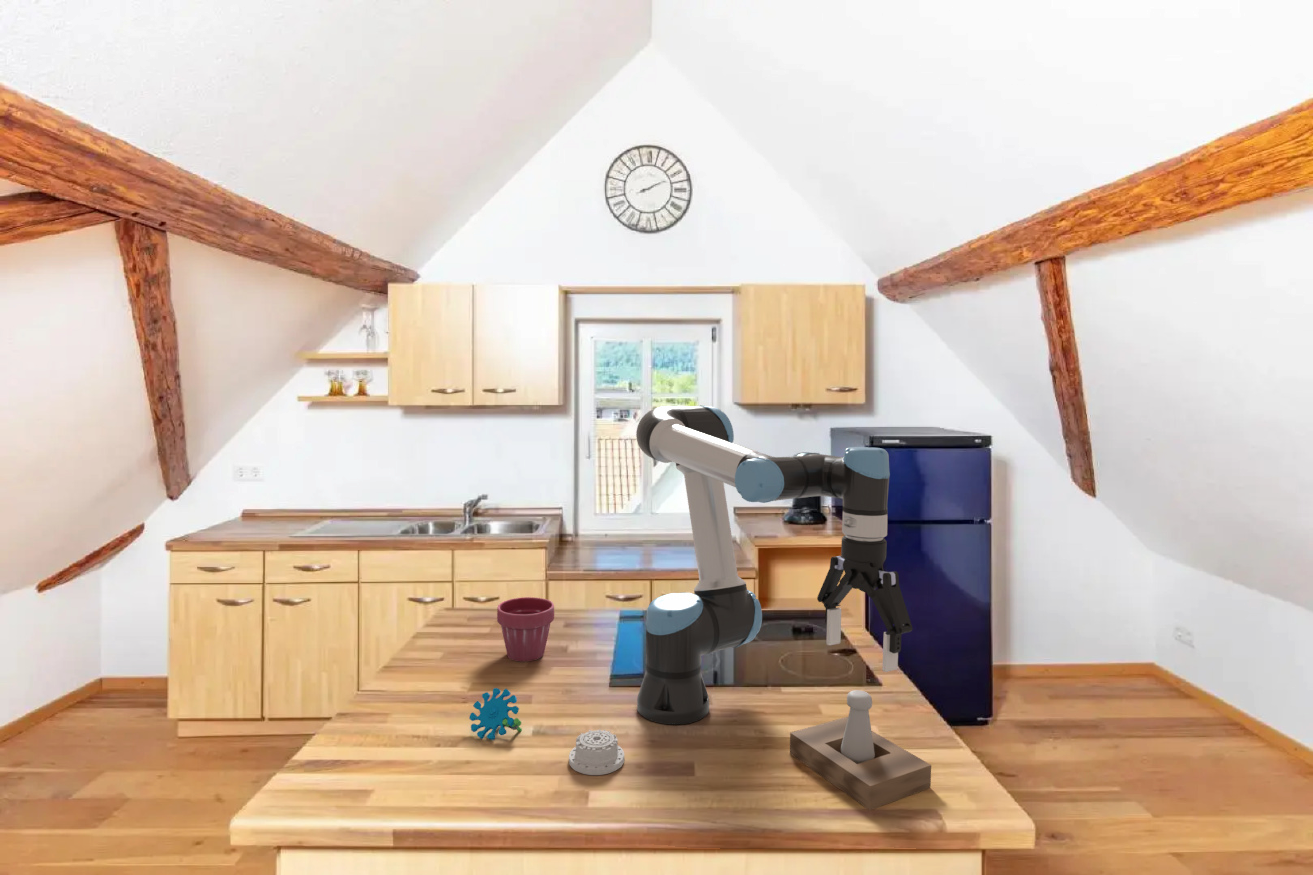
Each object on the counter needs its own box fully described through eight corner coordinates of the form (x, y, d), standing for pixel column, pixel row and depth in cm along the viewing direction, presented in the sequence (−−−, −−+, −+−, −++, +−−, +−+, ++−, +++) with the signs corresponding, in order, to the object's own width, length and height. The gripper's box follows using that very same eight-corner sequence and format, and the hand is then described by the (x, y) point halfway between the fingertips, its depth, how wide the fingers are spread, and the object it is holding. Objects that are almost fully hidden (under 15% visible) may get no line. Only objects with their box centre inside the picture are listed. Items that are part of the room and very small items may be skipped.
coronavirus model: (457, 725, 137) (487, 679, 142) (471, 736, 141) (499, 691, 147) (500, 748, 132) (529, 698, 137) (513, 759, 136) (541, 710, 141)
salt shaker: (875, 775, 122) (878, 702, 121) (841, 771, 123) (843, 698, 122) (872, 758, 128) (875, 688, 127) (839, 754, 129) (842, 684, 128)
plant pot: (549, 666, 171) (549, 614, 170) (491, 665, 171) (490, 613, 171) (558, 645, 186) (558, 597, 185) (504, 644, 186) (504, 596, 185)
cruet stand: (789, 753, 131) (790, 732, 131) (846, 736, 138) (847, 716, 138) (869, 810, 114) (870, 786, 113) (930, 787, 120) (931, 765, 120)
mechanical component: (611, 781, 122) (632, 753, 131) (611, 756, 121) (632, 730, 131) (559, 770, 125) (583, 744, 134) (559, 746, 125) (583, 721, 134)
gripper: (800, 525, 132) (797, 637, 134) (905, 553, 110) (900, 686, 112) (830, 522, 136) (827, 631, 137) (938, 549, 114) (933, 678, 115)
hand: (860, 656), depth 124 cm, fingers open, 13 cm apart
